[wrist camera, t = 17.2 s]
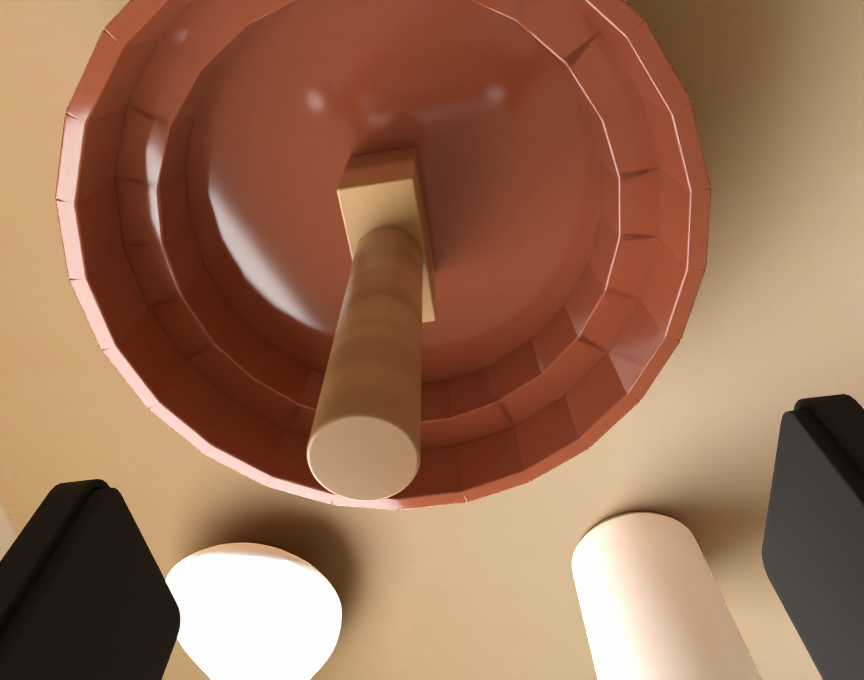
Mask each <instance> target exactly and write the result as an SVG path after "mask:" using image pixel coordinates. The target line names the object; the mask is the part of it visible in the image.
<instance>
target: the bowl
mask: <svg viewBox="0 0 864 680" xmlns="http://www.w3.org/2000/svg"><path fill="white" fill-rule="evenodd" d="M66 112H67V113H66V114H65V120H64V128H63V136H62V145H61V153H60V161H59V169H58V178H57V186H56V194H55V198H56V206H57V212H58V218H59V224H60V230H61V236H62V242H63V248H64V254H65V260H66V266H67V272H68V277H69V278H70V279H69V281H70V283H71V285H72V288H73V290H74V292H75V294H76V296H77V298H78V301H79V303H80V305H81V307H82V309H83V312H84V314H85V316H86V318H87V320H88V323H89V325H90V327H91V329H92V331H93V333H94V336H95V338H96V340H97V342H98V344H99V347H100V348H101V349H102V352H103V353H104V354H105V355H106V357H107V358H108V359H109V360H110V362H111V363H112V364H113V366H114V367H115V368H116V369H117V371H118V372H119V373H120V374H121V376H122V377H123V378H124V379H125V381H126V382H127V383H128V385H129V386H130V387H131V388H132V390H133V391H134V392H135V393H136V395H137V396H138V397H139V398H140V400H141V401H142V402H143V404H144V405H145V406H146V407H147V408H148V409H149V410H150V411H151V412H152V413H154V414H155V415H156V416H157V417H158V418H160V419H161V420H162V421H163V422H165V423H166V424H167V425H168V426H170V427H171V428H172V429H173V430H175V431H176V432H177V433H178V434H179V435H181V436H182V437H183V438H184V439H186V440H187V441H188V442H189V443H191V444H192V445H193V446H194V447H195V448H197V449H198V450H199V451H200V452H202V453H204V454H205V455H206V456H208V457H210V458H212V459H214V460H216V461H218V462H220V463H222V464H224V465H226V466H228V467H229V468H231V469H233V470H235V471H237V472H239V473H241V474H243V475H245V476H247V477H249V478H251V479H253V480H255V481H257V482H259V483H261V484H263V485H265V486H266V485H267V486H268V487H271V488H274V489H278V490H281V491H285V492H289V493H292V494H296V495H299V496H303V497H306V498H310V499H313V500H317V501H320V502H324V503H327V504H332V505H337V506H349V507H362V508H374V509H386V510H406V509H415V508H424V507H433V506H441V505H450V504H459V503H465V502H470V501H473V500H476V499H479V498H482V497H485V496H488V495H491V494H494V493H498V492H501V491H504V490H507V489H510V488H513V487H516V486H519V485H522V484H525V483H528V482H529V481H533V480H535V479H537V478H538V477H540V476H542V475H543V474H545V473H547V472H549V471H550V470H552V469H554V468H556V467H557V466H559V465H561V464H563V463H564V462H566V461H568V460H570V459H571V458H573V457H575V456H576V455H578V454H580V453H582V452H583V451H585V450H587V449H588V448H589V447H591V446H592V445H593V444H594V443H595V442H596V441H597V440H598V439H600V438H601V437H602V436H603V435H604V434H605V433H606V432H607V431H608V430H609V429H610V428H611V427H613V426H614V425H615V424H616V423H617V422H618V421H619V420H620V419H621V418H622V417H623V416H624V415H626V414H627V413H628V412H629V411H630V410H631V409H632V408H633V407H634V406H635V405H636V404H638V403H639V401H640V400H641V399H642V398H643V396H644V395H645V393H646V392H647V390H648V389H649V387H650V386H651V384H652V383H653V381H654V380H655V378H656V377H657V375H658V374H659V372H660V371H661V369H662V368H663V366H664V365H665V363H666V362H667V360H668V359H669V357H670V356H671V354H672V353H673V351H674V350H675V348H676V347H677V345H678V344H679V342H680V339H681V338H682V336H683V333H684V330H685V327H686V324H687V321H688V318H689V315H690V313H691V310H692V307H693V304H694V301H695V298H696V295H697V292H698V290H699V287H700V284H701V281H702V278H703V275H704V272H705V268H706V263H707V247H708V231H709V215H710V199H711V187H710V180H709V176H708V172H707V167H706V163H705V158H704V154H703V149H702V145H701V141H700V136H699V132H698V127H697V123H696V119H695V114H694V110H693V105H692V103H691V99H690V97H689V96H688V94H687V92H686V90H685V89H684V87H683V85H682V83H681V82H680V80H679V78H678V76H677V75H676V73H675V71H674V69H673V68H672V66H671V64H670V62H669V61H668V59H667V57H666V55H665V54H664V52H663V50H662V48H661V47H660V45H659V43H658V41H657V40H656V38H655V36H654V34H653V32H652V31H651V29H650V27H649V25H648V24H647V22H646V21H645V20H644V19H643V17H642V16H641V15H640V14H638V13H637V12H636V11H635V10H634V9H633V8H632V7H631V6H630V5H629V4H628V3H627V2H626V1H625V0H130V1H129V2H128V3H127V4H126V5H125V6H124V7H123V8H122V9H121V10H120V12H119V13H118V14H117V15H116V16H115V17H114V18H113V19H112V20H111V21H110V22H109V23H108V24H107V26H106V27H105V30H103V31H102V33H101V35H100V37H99V40H98V42H97V44H96V46H95V48H94V51H93V53H92V55H91V57H90V59H89V62H88V64H87V66H86V68H85V70H84V73H83V75H82V77H81V79H80V81H79V84H78V86H77V88H76V90H75V92H74V95H73V97H72V99H71V101H70V103H69V106H68V108H67V110H66ZM410 147H415V149H416V155H417V161H418V168H419V174H420V180H421V187H422V193H423V199H424V206H425V212H426V218H427V225H428V231H429V237H430V244H431V250H432V257H433V263H434V269H435V289H436V320H435V321H430V322H423V323H422V374H421V453H420V465H419V469H418V471H417V474H416V475H415V477H414V479H413V480H412V481H411V482H410V484H409V485H408V486H407V487H406V488H405V489H403V490H402V491H400V492H399V493H397V494H395V495H393V496H391V497H388V498H385V499H381V500H376V501H356V500H350V499H346V498H343V497H340V496H338V495H336V494H333V493H332V492H330V491H328V490H327V489H326V488H324V487H323V486H322V485H321V484H320V483H319V482H318V481H317V480H316V479H315V477H314V476H313V474H312V472H311V470H310V468H309V465H308V461H307V445H308V441H309V437H310V433H311V429H312V425H313V421H314V417H315V413H316V409H317V405H318V401H319V397H320V393H321V389H322V385H323V381H324V377H325V373H326V369H327V365H328V360H329V356H330V352H331V348H332V344H333V340H334V336H335V332H336V328H337V324H338V320H339V316H340V312H341V308H342V304H343V300H344V296H345V292H346V288H347V284H348V280H349V275H350V271H351V267H352V263H353V262H352V257H351V253H350V248H349V244H348V239H347V235H346V230H345V226H344V221H343V217H342V212H341V208H340V203H339V199H338V194H337V188H338V185H339V183H340V180H341V178H342V175H343V173H344V170H345V168H346V165H347V163H348V160H349V158H350V157H351V156H357V155H364V154H370V153H377V152H384V151H390V150H397V149H403V148H410Z"/></svg>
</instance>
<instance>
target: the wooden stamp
mask: <svg viewBox="0 0 864 680" xmlns="http://www.w3.org/2000/svg"><path fill="white" fill-rule="evenodd" d="M337 194H338V199H339V203H340V208H341V212H342V217H343V221H344V226H345V230H346V235H347V239H348V244H349V248H350V253H351V257H352V262H353V263H352V267H351V271H350V275H349V280H348V284H347V288H346V292H345V296H344V300H343V304H342V308H341V312H340V316H339V320H338V324H337V328H336V332H335V336H334V340H333V344H332V348H331V352H330V356H329V360H328V365H327V369H326V373H325V377H324V381H323V385H322V389H321V393H320V397H319V401H318V405H317V409H316V413H315V417H314V421H313V425H312V429H311V433H310V437H309V441H308V445H307V461H308V465H309V468H310V470H311V472H312V474H313V476H314V477H315V479H316V480H317V481H318V482H319V483H320V484H321V485H322V486H323V487H324V488H326V489H327V490H328V491H330V492H332V493H333V494H336V495H338V496H340V497H343V498H346V499H350V500H356V501H376V500H381V499H385V498H388V497H391V496H393V495H395V494H397V493H399V492H400V491H402V490H403V489H405V488H406V487H407V486H408V485H409V484H410V482H411V481H412V480H413V479H414V477H415V475H416V474H417V471H418V469H419V465H420V453H421V374H422V323H423V322H430V321H435V320H436V289H435V269H434V263H433V257H432V250H431V244H430V237H429V231H428V225H427V218H426V212H425V206H424V199H423V193H422V187H421V180H420V174H419V168H418V161H417V155H416V149H415V147H410V148H403V149H397V150H390V151H384V152H377V153H370V154H364V155H357V156H351V157H350V158H349V160H348V163H347V165H346V168H345V170H344V173H343V175H342V178H341V180H340V183H339V185H338V188H337Z"/></svg>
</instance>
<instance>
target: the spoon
mask: <svg viewBox="0 0 864 680" xmlns="http://www.w3.org/2000/svg"><path fill="white" fill-rule="evenodd" d="M166 583H167V585H168V587H169V589H170V591H171V593H172V595H173V596H174V598H175V600H176V602H177V604H178V607H179V609H180V615H181V624H180V630H179V633H178V636H177V638H178V640H179V642H180V644H181V645H182V647H183V648H184V650H185V651H186V652H187V653H188V655H189V656H190V657H191V658H192V659H193V661H194V662H195V663H196V664H197V665H198V666H199V667H200V668H201V669H202V670H203V671H204V672H205V673H206V674H207V675H208V676H209V677H210V678H211V680H309V679H310V678H311V677H312V676H313V675H314V674H315V673H316V672H317V671H318V670H319V669H320V668H321V667H322V666H323V665H324V663H325V662H326V661H327V660H328V658H329V657H330V655H331V653H332V652H333V650H334V648H335V645H336V643H337V640H338V636H339V633H340V628H341V621H342V608H341V603H340V600H339V597H338V595H337V593H336V591H335V589H334V588H333V587H332V585H331V584H330V583H329V581H328V580H327V579H326V578H325V577H324V576H323V575H322V574H321V573H320V572H319V571H318V570H317V569H316V568H315V567H314V566H313V565H311V564H310V563H308V562H307V561H305V560H303V559H301V558H300V557H297V556H295V555H293V554H291V553H289V552H286V551H284V550H282V549H279V548H276V547H271V546H267V545H263V544H256V543H228V544H221V545H216V546H213V547H209V548H206V549H203V550H200V551H197V552H195V553H193V554H191V555H189V556H188V557H186V558H185V559H183V560H182V561H180V562H179V563H178V564H177V565H176V566H175V567H174V568H173V569H172V570H171V571H170V573H169V575H168V577H167V579H166Z"/></svg>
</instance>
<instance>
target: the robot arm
mask: <svg viewBox="0 0 864 680" xmlns="http://www.w3.org/2000/svg"><path fill="white" fill-rule="evenodd" d="M762 559H763V564H764V567H765V571H766V573H767V576H768V578H769V580H770V582H771V583H772V585H773V587H774V589H775V591H776V593H777V595H778V596H779V598H780V600H781V602H782V604H783V606H784V608H785V610H786V611H787V613H788V615H789V617H790V619H791V621H792V623H793V624H794V626H795V628H796V630H797V632H798V634H799V636H800V638H801V639H802V641H803V643H804V645H805V647H806V649H807V651H808V652H809V654H810V656H811V658H812V660H813V662H814V664H815V665H816V667H817V669H818V671H819V673H820V675H821V677H822V679H823V680H864V409H863V408H862V407H861V406H860V405H859V403H858V402H857V401H856V400H855V399H853V398H852V397H851V396H849V395H845V394H840V395H832V396H823V397H814V398H805V399H801V400H798V401H797V403H796V404H795V407H794V410H793V411H788V412H785V413H784V415H783V417H782V420H781V427H780V433H779V440H778V447H777V453H776V460H775V466H774V473H773V480H772V486H771V493H770V499H769V506H768V513H767V519H766V526H765V533H764V539H763V546H762ZM180 624H181V615H180V609H179V607H178V604H177V602H176V600H175V598H174V596H173V595H172V593H171V591H170V589H169V587H168V585H167V583H166V581H165V579H164V577H163V575H162V573H161V571H160V569H159V567H158V565H157V563H156V561H155V559H154V558H153V556H152V554H151V552H150V550H149V548H148V546H147V544H146V542H145V540H144V538H143V536H142V534H141V532H140V530H139V528H138V526H137V524H136V522H135V521H134V519H133V517H132V515H131V513H130V511H129V509H128V507H127V505H126V503H125V501H124V499H123V497H122V495H121V494H120V492H119V491H118V490H117V489H115V488H110V487H109V486H108V484H107V483H106V482H104V481H103V480H100V479H94V480H85V481H76V482H67V483H60V484H58V485H56V486H55V487H54V488H53V489H52V490H51V491H50V492H49V493H48V495H47V496H46V498H45V499H44V501H43V502H42V503H41V505H40V506H39V508H38V509H37V510H36V512H35V513H34V515H33V516H32V518H31V519H30V520H29V522H28V523H27V525H26V526H25V527H24V529H23V530H22V532H21V533H20V534H19V536H18V537H17V539H16V540H15V542H14V543H13V544H12V546H11V547H10V549H9V550H8V551H7V553H6V554H5V556H4V557H3V559H2V560H1V561H0V680H161V679H162V677H163V674H164V671H165V669H166V666H167V663H168V661H169V658H170V655H171V653H172V650H173V647H174V644H175V642H176V639H177V636H178V633H179V630H180Z"/></svg>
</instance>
